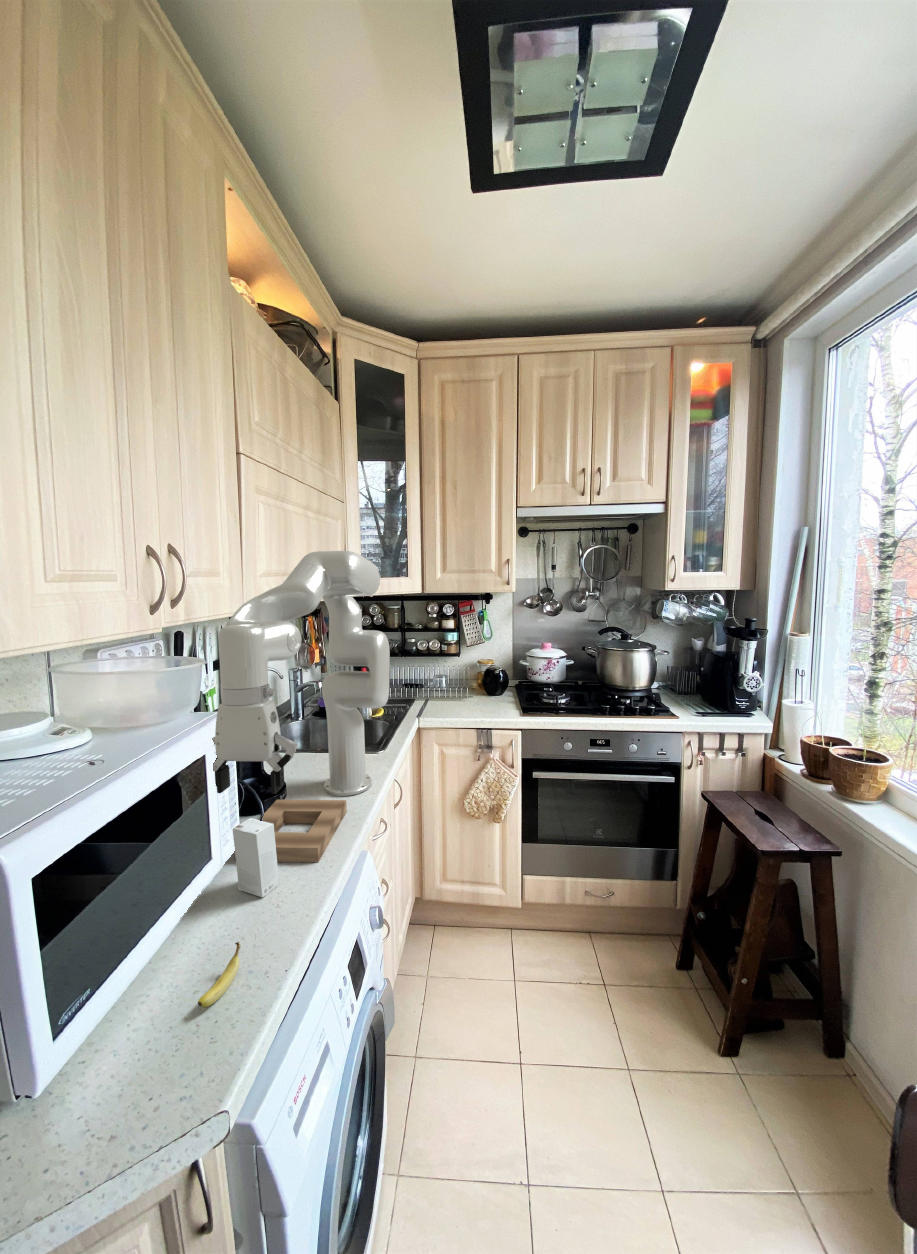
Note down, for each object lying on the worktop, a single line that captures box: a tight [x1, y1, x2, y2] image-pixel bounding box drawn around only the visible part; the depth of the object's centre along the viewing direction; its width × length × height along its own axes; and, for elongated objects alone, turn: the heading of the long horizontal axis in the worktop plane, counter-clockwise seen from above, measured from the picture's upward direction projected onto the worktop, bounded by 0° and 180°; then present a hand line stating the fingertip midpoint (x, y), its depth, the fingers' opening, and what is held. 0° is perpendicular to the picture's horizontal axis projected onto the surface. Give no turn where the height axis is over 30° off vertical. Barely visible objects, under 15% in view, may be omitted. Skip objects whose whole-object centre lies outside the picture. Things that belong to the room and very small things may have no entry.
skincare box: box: [232, 817, 280, 898], centre depth 85 cm, size 6×4×12 cm
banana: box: [197, 941, 241, 1008], centre depth 64 cm, size 8×2×4 cm, turn 170°
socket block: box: [234, 799, 348, 863], centre depth 103 cm, size 20×17×3 cm
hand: (250, 790), depth 83 cm, fingers open, 9 cm apart
